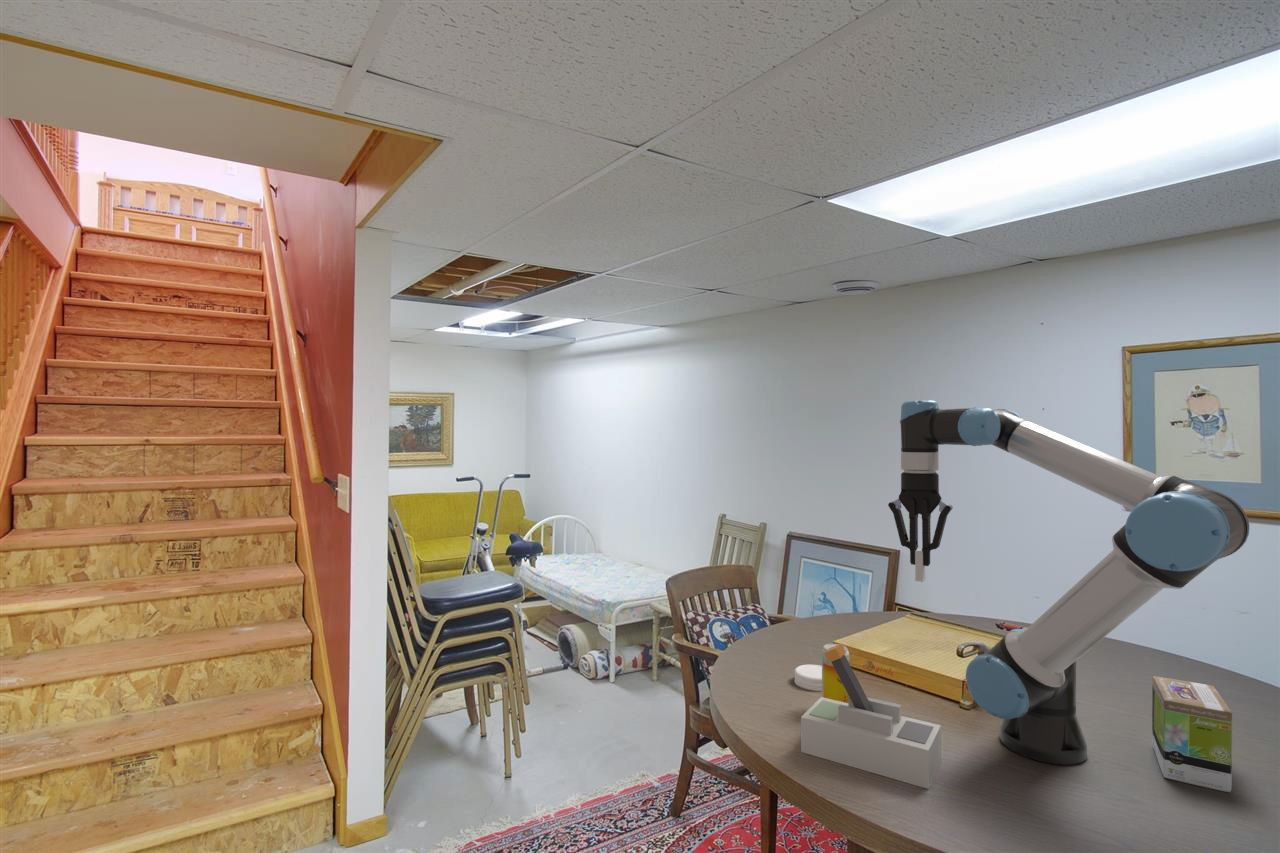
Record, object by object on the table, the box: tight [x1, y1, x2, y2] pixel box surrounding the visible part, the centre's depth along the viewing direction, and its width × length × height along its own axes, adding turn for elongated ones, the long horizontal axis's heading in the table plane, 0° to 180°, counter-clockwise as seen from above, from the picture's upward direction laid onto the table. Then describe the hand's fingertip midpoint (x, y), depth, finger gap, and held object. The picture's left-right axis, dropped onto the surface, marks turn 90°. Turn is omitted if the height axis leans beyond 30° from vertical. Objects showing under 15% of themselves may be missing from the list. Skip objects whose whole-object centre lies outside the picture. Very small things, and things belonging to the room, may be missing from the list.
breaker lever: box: [824, 642, 874, 712], centre depth 131 cm, size 3×4×14 cm
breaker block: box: [800, 696, 942, 790], centre depth 128 cm, size 24×12×10 cm, turn 55°
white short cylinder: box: [794, 664, 822, 692], centre depth 165 cm, size 10×10×4 cm
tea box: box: [1151, 675, 1233, 793], centre depth 124 cm, size 15×10×15 cm
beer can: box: [821, 643, 850, 703], centre depth 148 cm, size 6×6×15 cm
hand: (920, 580), depth 140 cm, fingers closed
